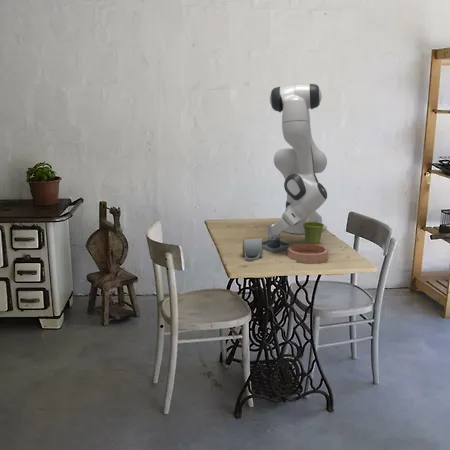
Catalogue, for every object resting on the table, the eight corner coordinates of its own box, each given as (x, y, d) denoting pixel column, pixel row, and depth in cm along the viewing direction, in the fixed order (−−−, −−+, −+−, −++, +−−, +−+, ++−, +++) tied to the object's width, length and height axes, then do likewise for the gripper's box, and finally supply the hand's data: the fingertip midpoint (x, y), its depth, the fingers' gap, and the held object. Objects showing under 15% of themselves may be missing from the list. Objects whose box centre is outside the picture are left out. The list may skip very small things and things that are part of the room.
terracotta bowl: (306, 249, 245) (307, 241, 244) (335, 258, 233) (336, 250, 232) (279, 256, 235) (280, 248, 234) (308, 265, 223) (308, 257, 222)
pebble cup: (273, 244, 250) (274, 222, 247) (282, 247, 246) (283, 224, 243) (264, 246, 247) (265, 224, 244) (273, 249, 243) (274, 226, 240)
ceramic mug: (243, 253, 239) (243, 236, 237) (262, 254, 238) (263, 236, 236) (241, 261, 228) (241, 243, 226) (262, 262, 228) (262, 244, 226)
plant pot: (323, 241, 258) (324, 222, 256) (322, 246, 249) (323, 227, 247) (302, 239, 260) (303, 221, 257) (301, 245, 251) (301, 226, 249)
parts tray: (274, 242, 255) (274, 238, 254) (293, 248, 246) (293, 244, 245) (253, 247, 247) (254, 243, 247) (273, 254, 238) (273, 249, 238)
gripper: (297, 203, 249) (275, 223, 255) (283, 213, 230) (259, 234, 236) (307, 214, 248) (284, 233, 254) (293, 225, 230) (269, 245, 236)
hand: (272, 234), depth 245 cm, fingers open, 6 cm apart
